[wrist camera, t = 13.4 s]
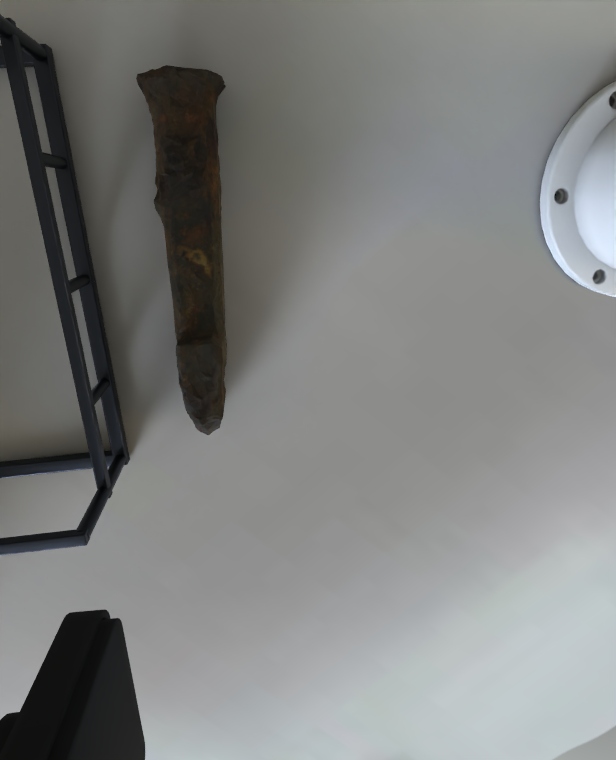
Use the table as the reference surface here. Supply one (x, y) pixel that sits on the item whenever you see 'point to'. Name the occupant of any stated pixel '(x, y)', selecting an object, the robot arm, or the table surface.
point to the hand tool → (192, 229)
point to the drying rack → (63, 291)
